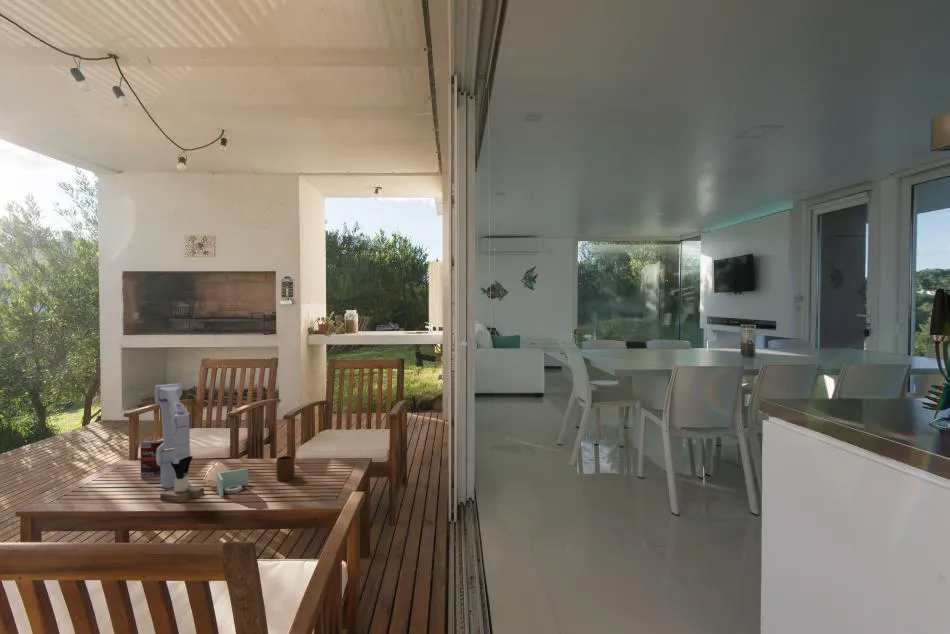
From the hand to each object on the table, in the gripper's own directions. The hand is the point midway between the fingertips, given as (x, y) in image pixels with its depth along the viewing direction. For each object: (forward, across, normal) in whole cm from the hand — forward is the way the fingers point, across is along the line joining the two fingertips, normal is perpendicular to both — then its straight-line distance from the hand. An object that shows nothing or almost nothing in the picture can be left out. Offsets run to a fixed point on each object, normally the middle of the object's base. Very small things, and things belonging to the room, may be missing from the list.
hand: (182, 476), depth 214 cm
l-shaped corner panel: (+9, -4, +19) cm, 21 cm away
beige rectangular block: (+5, 0, 0) cm, 5 cm away
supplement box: (+8, -37, -24) cm, 45 cm away
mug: (+8, -17, +38) cm, 43 cm away
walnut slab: (+9, 0, 0) cm, 9 cm away
